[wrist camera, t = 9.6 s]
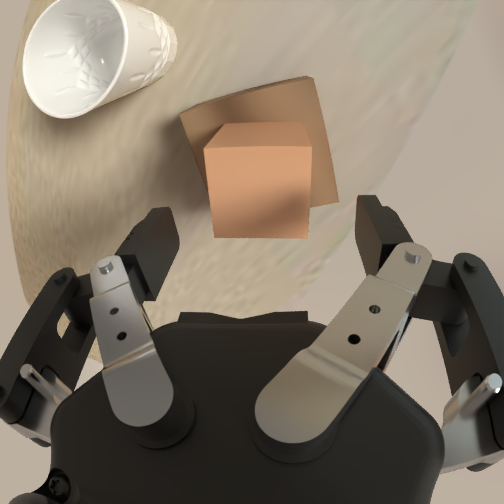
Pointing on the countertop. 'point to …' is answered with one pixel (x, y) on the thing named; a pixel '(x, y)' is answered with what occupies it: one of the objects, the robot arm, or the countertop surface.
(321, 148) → the walnut block
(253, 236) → the terracotta block
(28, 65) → the white cup
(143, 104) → the countertop surface
